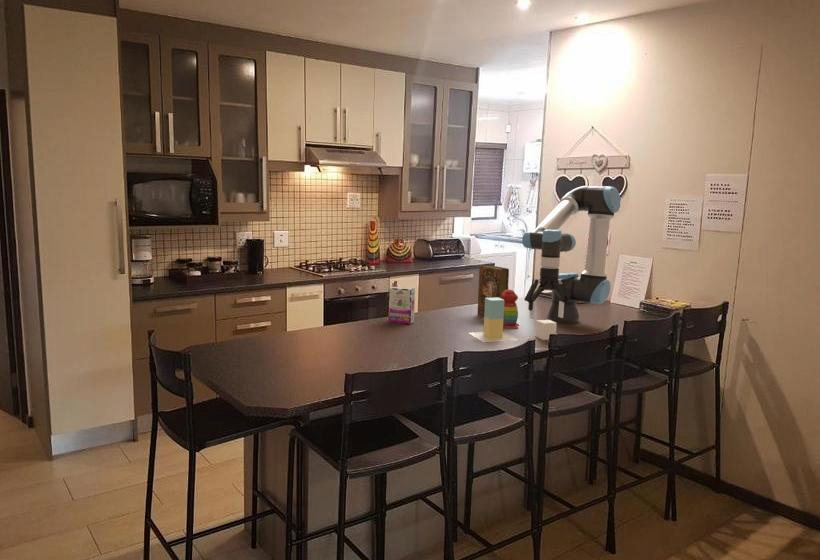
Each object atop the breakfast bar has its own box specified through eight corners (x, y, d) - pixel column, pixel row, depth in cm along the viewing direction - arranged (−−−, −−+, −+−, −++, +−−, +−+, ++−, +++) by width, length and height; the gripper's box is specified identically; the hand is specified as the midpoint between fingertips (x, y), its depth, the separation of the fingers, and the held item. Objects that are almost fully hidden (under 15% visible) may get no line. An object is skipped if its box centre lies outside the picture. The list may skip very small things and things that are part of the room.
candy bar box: (414, 322, 281) (415, 287, 279) (410, 325, 277) (411, 289, 274) (392, 320, 285) (393, 285, 283) (388, 322, 281) (388, 287, 278)
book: (475, 315, 301) (477, 265, 297) (484, 313, 304) (486, 264, 300) (498, 321, 288) (500, 269, 284) (506, 320, 291) (509, 268, 287)
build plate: (501, 333, 265) (501, 330, 265) (518, 342, 250) (518, 340, 250) (467, 335, 260) (467, 332, 260) (483, 344, 245) (483, 342, 245)
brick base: (496, 334, 258) (497, 315, 257) (502, 337, 253) (503, 318, 252) (483, 335, 257) (484, 316, 255) (489, 338, 251) (490, 319, 250)
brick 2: (548, 338, 258) (549, 319, 257) (555, 341, 253) (556, 322, 251) (535, 338, 257) (536, 320, 255) (542, 342, 251) (543, 323, 250)
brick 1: (497, 315, 257) (498, 297, 256) (503, 318, 252) (504, 300, 250) (484, 316, 255) (485, 297, 254) (490, 319, 250) (491, 300, 249)
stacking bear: (518, 331, 268) (520, 292, 265) (495, 330, 270) (497, 290, 267) (519, 326, 279) (521, 288, 276) (497, 324, 281) (498, 287, 278)
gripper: (571, 266, 257) (567, 315, 260) (518, 266, 250) (515, 316, 253) (581, 268, 250) (577, 318, 253) (527, 268, 242) (523, 320, 245)
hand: (546, 317), depth 253 cm, fingers open, 13 cm apart
